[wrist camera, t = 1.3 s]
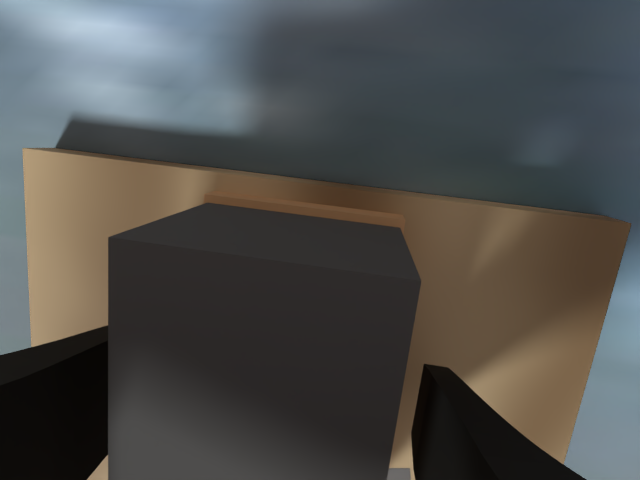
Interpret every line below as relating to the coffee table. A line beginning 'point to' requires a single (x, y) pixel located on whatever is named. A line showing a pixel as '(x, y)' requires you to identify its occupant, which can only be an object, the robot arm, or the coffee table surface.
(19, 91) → the coffee table surface
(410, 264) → the block
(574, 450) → the coffee table surface
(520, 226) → the oak board
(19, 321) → the coffee table surface
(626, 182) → the coffee table surface
